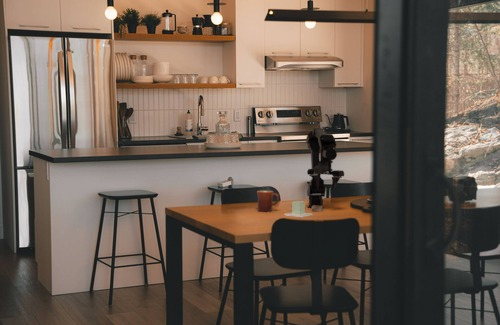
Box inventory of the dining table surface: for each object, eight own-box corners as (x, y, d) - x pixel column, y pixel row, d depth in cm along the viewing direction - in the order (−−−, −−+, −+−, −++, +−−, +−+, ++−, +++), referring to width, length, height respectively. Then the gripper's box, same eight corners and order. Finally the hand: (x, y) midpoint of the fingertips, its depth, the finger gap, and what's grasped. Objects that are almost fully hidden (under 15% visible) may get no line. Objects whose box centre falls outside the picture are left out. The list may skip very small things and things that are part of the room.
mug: (253, 211, 362) (253, 191, 361) (260, 209, 370) (260, 190, 369) (275, 213, 357) (275, 193, 356) (281, 211, 365) (282, 191, 364)
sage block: (292, 213, 351) (292, 201, 351) (297, 212, 355) (297, 200, 354) (299, 214, 348) (299, 202, 348) (304, 213, 352) (304, 201, 351)
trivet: (284, 215, 350) (284, 213, 350) (295, 213, 358) (295, 211, 358) (301, 217, 345) (301, 215, 344) (312, 215, 353) (312, 213, 352)
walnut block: (311, 212, 364) (311, 206, 364) (313, 210, 369) (313, 205, 369) (321, 212, 363) (321, 206, 363) (322, 211, 368) (322, 205, 368)
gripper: (301, 158, 357) (301, 189, 359) (334, 160, 346) (333, 192, 347) (313, 157, 366) (312, 187, 367) (345, 159, 355) (344, 190, 356)
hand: (325, 189), depth 359 cm, fingers open, 9 cm apart
